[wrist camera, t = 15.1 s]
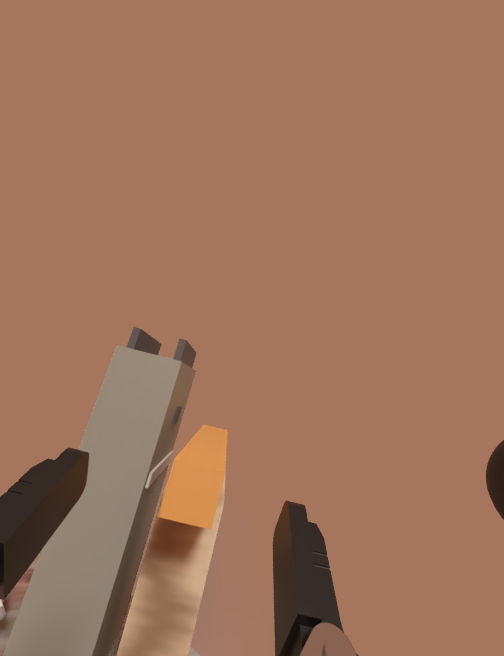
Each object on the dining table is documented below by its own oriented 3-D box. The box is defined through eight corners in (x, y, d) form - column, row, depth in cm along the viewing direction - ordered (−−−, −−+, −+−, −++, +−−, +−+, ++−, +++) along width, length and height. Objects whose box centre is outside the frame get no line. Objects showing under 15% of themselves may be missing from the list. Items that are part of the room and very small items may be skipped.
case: (124, 625, 35) (202, 355, 43) (64, 758, 22) (191, 339, 30) (66, 612, 34) (155, 343, 43) (-28, 738, 22) (125, 322, 30)
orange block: (221, 455, 39) (227, 430, 40) (211, 529, 18) (225, 471, 19) (196, 449, 39) (203, 424, 40) (157, 517, 18) (174, 459, 19)
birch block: (172, 683, 29) (225, 465, 35) (136, 872, 18) (224, 502, 23) (125, 672, 29) (186, 456, 34) (58, 857, 18) (164, 488, 23)
